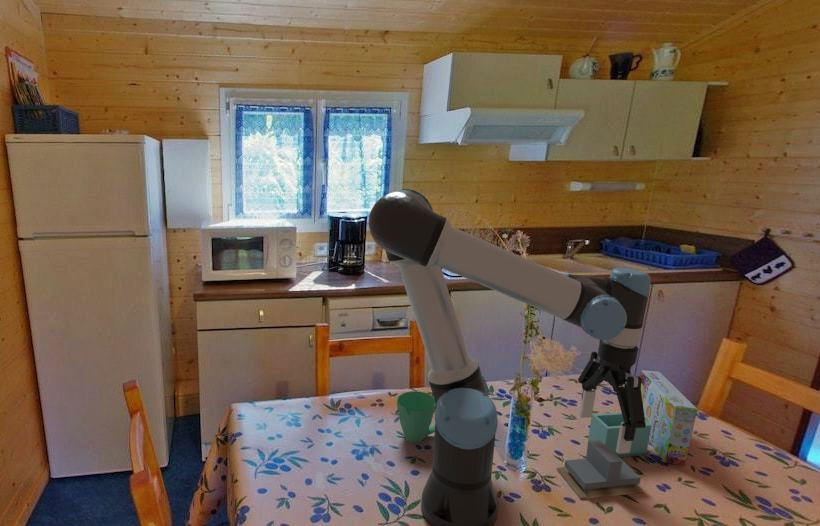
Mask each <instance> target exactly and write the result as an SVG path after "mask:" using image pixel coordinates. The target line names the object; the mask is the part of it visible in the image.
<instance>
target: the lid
mask: <svg viewBox="0 0 820 526" xmlns="http://www.w3.org/2000/svg"><path fill="white" fill-rule="evenodd" d="M586 447H587V448H586V453H585V454H586V455H585V458H578V459H577V458H575V459H567V460H564V467H565V468H566V469H567V470H568V471H569V472H570V473H571V475H572V476H573V477H574V478H575V479H576V481H577V482H578V483H579V484H580V485H581V487H582V488H583V489H584V490H587V489H596V488H605V487H614V486H623V485H632V484H637V485H638V484H640V483H641V477H640V475H638V473H636V472H635V471H634V469H632V467H630V466H629V465H628V464H627V463H626V462H625V461H624V460H623V459H622V457H618V456H616V455H615V454H614V453H613V452H612V451H611V450H610V449H609V448H608V447H607V446H606V445H605V444H604V443H603V442H602V441H601V440H593V441H588V440H587V446H586Z"/></svg>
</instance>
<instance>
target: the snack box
mask: <svg viewBox="0 0 820 526" xmlns="http://www.w3.org/2000/svg"><path fill="white" fill-rule="evenodd" d="M639 376H640V377H641V379H642V382H641V394H642V401H643V409H644V416H645V421H647V422H648V423H649V424H650V425H651V430H650V436H649V443H650V444H651V445H652V447H653V449H654V450H655V451H656V452H657V454H658V456H659V457H660V458H661V460H662V461H663V463H667V464H673V465H679V466H685V465H686V463H687V458H688V454H689V450H690V444H691V440H692V436H693V431H694V426H695V421H696V417H697V411H698V408H697V407H696V406H695V405H694V404H693V403H692V402H691V401H690V400H689V399H688V398H687V397H686V396H685V395H684V394H683V393H682V392H681V391H680V390H679V389H678V388H676V386H675V385H674V384H672V383H671V381H670V380H669V379H668V378H666V377H665V376H664V374H663V373H661V371H655V370H654V371H653V370H645V369H644V370H643V369H642V370H640V375H639Z"/></svg>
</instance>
